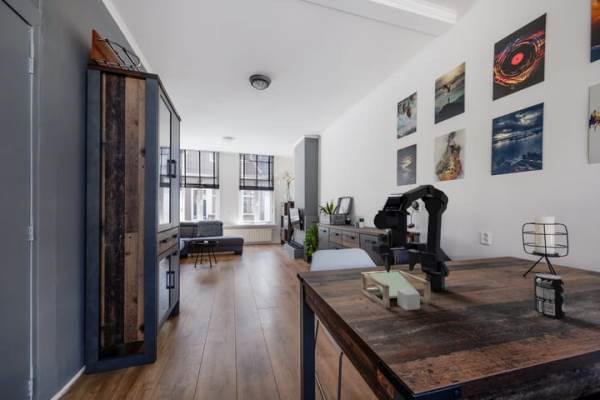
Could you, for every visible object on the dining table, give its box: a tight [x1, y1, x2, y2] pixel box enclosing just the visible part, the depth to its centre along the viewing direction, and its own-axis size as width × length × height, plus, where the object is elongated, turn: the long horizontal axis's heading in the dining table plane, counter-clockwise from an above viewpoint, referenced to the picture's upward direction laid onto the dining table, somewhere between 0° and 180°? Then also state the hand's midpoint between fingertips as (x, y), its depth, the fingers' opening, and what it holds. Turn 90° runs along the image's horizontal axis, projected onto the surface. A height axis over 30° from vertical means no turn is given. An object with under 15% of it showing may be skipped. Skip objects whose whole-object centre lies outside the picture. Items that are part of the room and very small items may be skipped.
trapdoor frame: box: [360, 269, 432, 309], centre depth 91 cm, size 18×18×8 cm
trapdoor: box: [369, 272, 419, 299], centre depth 92 cm, size 13×13×1 cm
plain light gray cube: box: [396, 289, 421, 311], centre depth 83 cm, size 5×5×5 cm
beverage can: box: [533, 273, 566, 319], centre depth 77 cm, size 7×7×12 cm
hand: (399, 271), depth 88 cm, fingers open, 9 cm apart
